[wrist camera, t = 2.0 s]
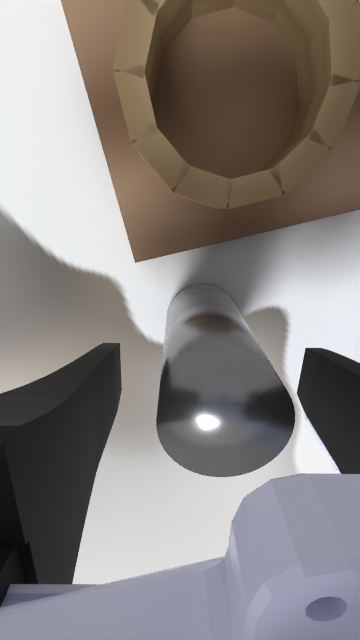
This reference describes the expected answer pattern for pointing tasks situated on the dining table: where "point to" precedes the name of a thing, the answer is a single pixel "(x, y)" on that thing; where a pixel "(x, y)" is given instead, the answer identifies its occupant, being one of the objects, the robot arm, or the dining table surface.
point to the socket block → (222, 113)
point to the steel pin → (218, 389)
